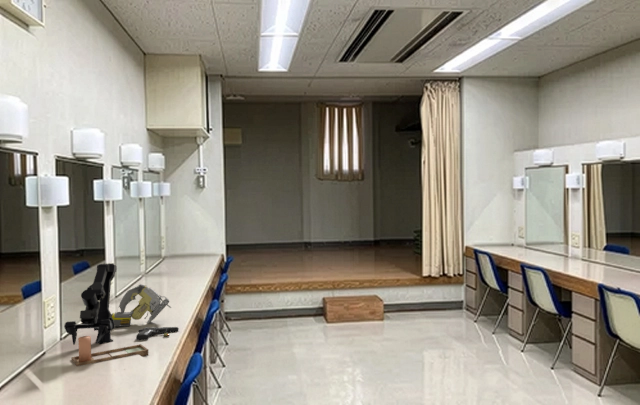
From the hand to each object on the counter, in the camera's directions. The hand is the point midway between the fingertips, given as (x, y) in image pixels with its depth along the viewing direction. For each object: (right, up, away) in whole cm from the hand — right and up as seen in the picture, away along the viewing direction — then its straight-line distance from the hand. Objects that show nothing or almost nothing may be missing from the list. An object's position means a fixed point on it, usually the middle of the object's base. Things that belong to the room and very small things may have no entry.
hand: (85, 343), depth 217 cm
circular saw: (0, -8, +68) cm, 68 cm away
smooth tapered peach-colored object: (0, -7, -1) cm, 7 cm away
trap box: (+9, -8, +6) cm, 13 cm away
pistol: (+17, -8, +43) cm, 47 cm away
